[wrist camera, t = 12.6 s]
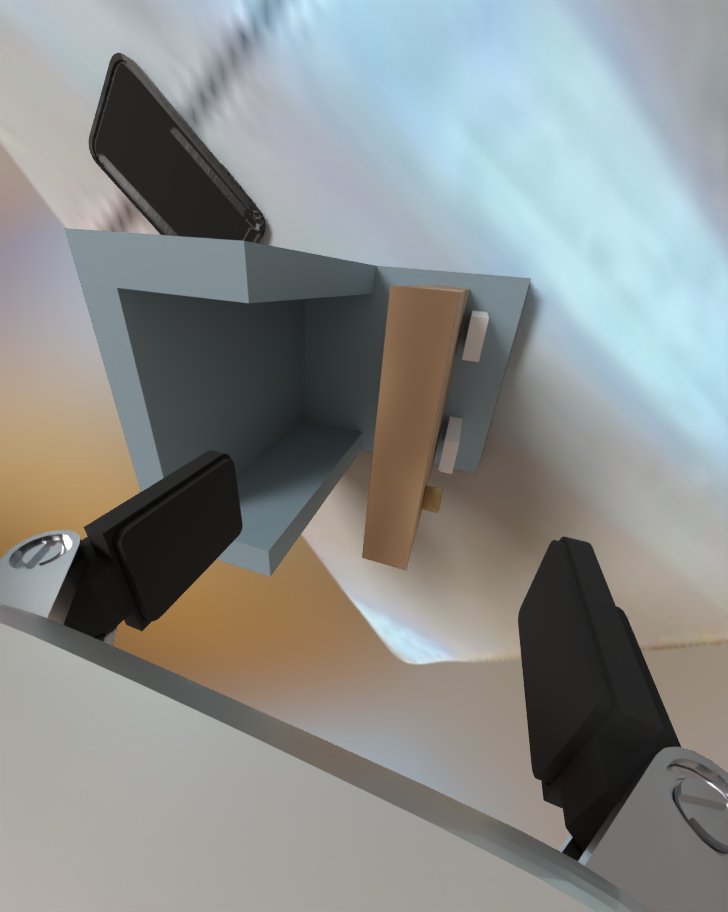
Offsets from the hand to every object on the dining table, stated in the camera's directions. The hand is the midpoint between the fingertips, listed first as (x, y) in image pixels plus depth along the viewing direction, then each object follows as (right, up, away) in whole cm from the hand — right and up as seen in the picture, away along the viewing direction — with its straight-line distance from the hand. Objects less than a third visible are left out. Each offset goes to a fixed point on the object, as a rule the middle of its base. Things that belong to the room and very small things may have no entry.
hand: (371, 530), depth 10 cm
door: (+5, +8, +17) cm, 19 cm away
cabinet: (+2, +10, +19) cm, 21 cm away
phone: (-15, +24, +18) cm, 34 cm away
